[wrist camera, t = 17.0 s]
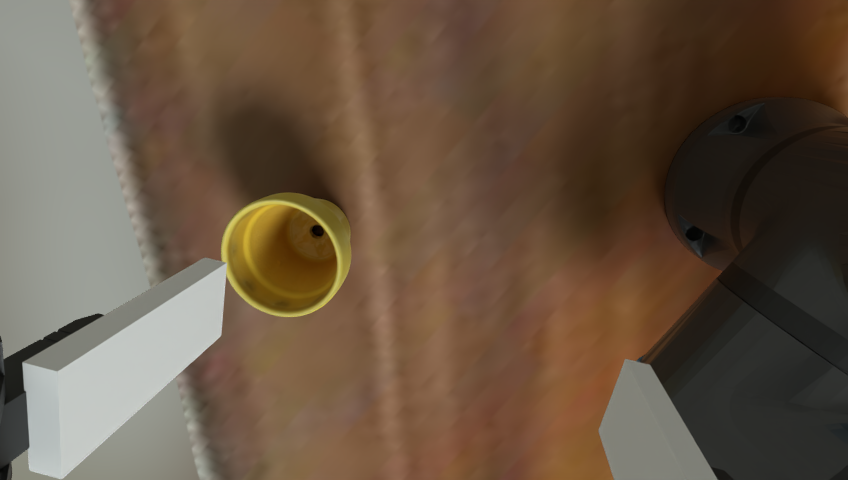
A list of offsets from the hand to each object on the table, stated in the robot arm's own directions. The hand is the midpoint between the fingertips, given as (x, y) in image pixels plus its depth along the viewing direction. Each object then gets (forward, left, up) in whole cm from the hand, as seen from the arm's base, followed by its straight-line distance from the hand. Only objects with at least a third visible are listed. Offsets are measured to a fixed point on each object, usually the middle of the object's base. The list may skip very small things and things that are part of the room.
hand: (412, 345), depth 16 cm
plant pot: (+13, +8, -32) cm, 35 cm away
